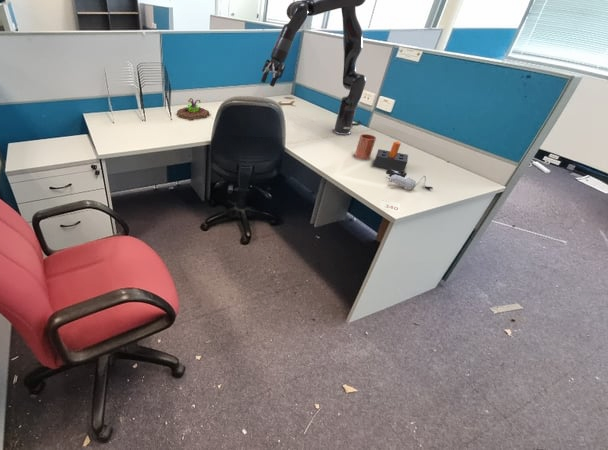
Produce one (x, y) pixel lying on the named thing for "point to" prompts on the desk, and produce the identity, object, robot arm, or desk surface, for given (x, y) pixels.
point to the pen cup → (365, 146)
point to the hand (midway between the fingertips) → (266, 84)
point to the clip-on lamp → (403, 179)
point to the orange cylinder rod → (394, 149)
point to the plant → (192, 111)
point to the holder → (390, 161)
